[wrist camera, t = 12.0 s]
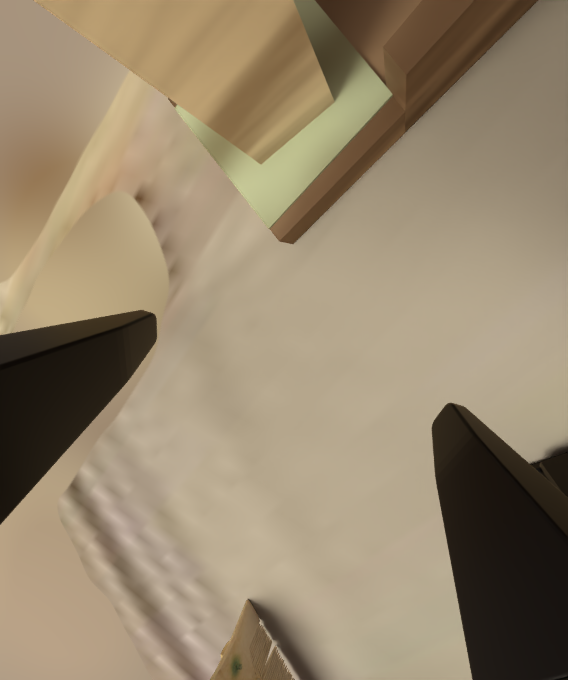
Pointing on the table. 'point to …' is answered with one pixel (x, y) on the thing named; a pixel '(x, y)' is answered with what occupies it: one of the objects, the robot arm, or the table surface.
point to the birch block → (214, 61)
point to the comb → (250, 652)
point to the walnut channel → (360, 97)
